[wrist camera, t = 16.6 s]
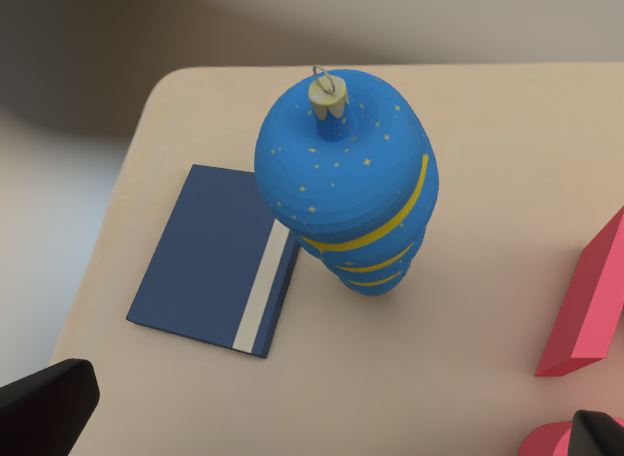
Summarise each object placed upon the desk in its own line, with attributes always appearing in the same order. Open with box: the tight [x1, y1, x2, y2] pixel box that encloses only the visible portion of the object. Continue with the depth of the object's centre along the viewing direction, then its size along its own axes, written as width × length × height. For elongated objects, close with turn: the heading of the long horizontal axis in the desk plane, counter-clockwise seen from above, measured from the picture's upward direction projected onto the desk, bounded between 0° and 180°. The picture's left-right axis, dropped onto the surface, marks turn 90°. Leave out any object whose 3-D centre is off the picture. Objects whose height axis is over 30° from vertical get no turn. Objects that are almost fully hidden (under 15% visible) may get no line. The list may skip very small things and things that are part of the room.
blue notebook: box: [126, 164, 300, 359], centre depth 25 cm, size 10×8×1 cm
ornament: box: [254, 64, 439, 295], centre depth 16 cm, size 5×5×15 cm
